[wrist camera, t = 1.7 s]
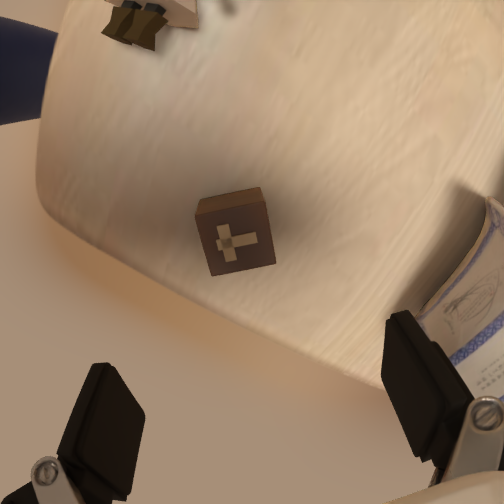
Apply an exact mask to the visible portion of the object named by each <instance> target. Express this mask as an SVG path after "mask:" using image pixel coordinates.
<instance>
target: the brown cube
mask: <svg viewBox="0 0 504 504" xmlns="http://www.w3.org/2000/svg"><path fill="white" fill-rule="evenodd" d="M195 220H196V224H197V227H198V231H199V234H200V238H201V242H202V245H203V249H204V252H205V256H206V259H207V263H208V266H209V269H210V273H211V276H217V275H223V274H228V273H233V272H238V271H243V270H248V269H253V268H258V267H263V266H267V265H272V264H276V257H275V252H274V246H273V241H272V235H271V230H270V225H269V219H268V214H267V209H266V203H265V200H264V197H263V194H262V191H261V189H260V187H258V188H253V189H248V190H243V191H238V192H233V193H229V194H224V195H219V196H215V197H210V198H206V199H201V200H200V201H199V204H198V207H197V210H196V213H195Z"/></svg>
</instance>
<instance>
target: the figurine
mask: <svg viewBox="0 0 504 504" xmlns="http://www.w3.org/2000/svg"><path fill="white" fill-rule="evenodd" d="M105 1H107V2H109V3H111V4H114V5H116V6H118V7H115V6H114V7H113V11H112V16H111V20H110V22H109V24H108V25H107V26H106V27H105V29H104V30H103V31H102V32H101V33H102V34H104V35H106V36H108V37H110V38H112V39H114V40H117V41H119V42H121V43H125V44H129V45H132V43H134V44H136V45H138V46H140V47H143V48H145V49H149V50H153V51H155V34H156V33H157V32H158V31H159V30H160V29H161V28H162V27H163V26H164V25H165V24H167V25H170V26H173V27H191V28H198V17H197V4H196V0H105Z"/></svg>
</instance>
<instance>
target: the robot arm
mask: <svg viewBox="0 0 504 504" xmlns="http://www.w3.org/2000/svg"><path fill="white" fill-rule="evenodd" d="M381 378H382V382H383V384H384V387H385V389H386V391H387V393H388V395H389V397H390V400H391V402H392V405H393V407H394V409H395V411H396V414H397V416H398V418H399V421H400V423H401V425H402V428H403V430H404V432H405V435H406V437H407V440H408V442H409V444H410V447H411V449H412V452H413V454H414V456H415V457H419V456H420V459H421V461H422V463H423V462H426V461H428V460H430V459H432V462H433V464H434V466H435V467H436V469H435V471H434V474H433V476H432V479H431V481H430V484H429V486H428V488H427V489H424V490H421V491H418V492H415V493H413V494H410V495H407V496H404V497H401V498H398V499H395V500H392V501H389V502H386V503H383V504H504V403H503V402H502V401H501V400H500V399H498V398H496V397H493V396H481V397H478V398H476V399H475V398H474V396H473V395H472V393H471V391H470V390H469V388H468V387H467V385H466V384H465V382H464V381H463V379H462V378H461V376H460V374H459V373H458V371H457V370H456V368H455V367H454V365H453V364H452V363H451V361H450V360H449V358H448V357H447V355H446V354H445V352H444V351H443V349H442V348H441V347H440V345H439V344H438V343H437V342H435V341H430V339H429V338H428V337H427V335H426V334H425V332H424V331H423V329H422V328H421V327H420V325H419V324H418V322H417V321H416V320H415V318H414V317H413V315H412V314H411V313H410V312H409V310H404V311H400V312H396V313H393V314H391V316H390V319H387V320H386V327H385V339H384V350H383V359H382V368H381ZM144 423H145V413H144V411H143V409H142V408H141V406H140V405H139V404H138V402H137V401H136V399H135V398H134V396H133V395H132V393H131V392H130V390H129V389H128V387H127V386H126V384H125V382H124V381H123V379H122V378H121V376H120V375H119V373H118V371H117V370H116V368H115V367H114V366H111V364H110V363H107V362H106V363H94V364H92V366H91V368H90V370H89V373H88V375H87V377H86V380H85V382H84V384H83V386H82V389H81V391H80V394H79V396H78V398H77V401H76V403H75V406H74V408H73V411H72V413H71V416H70V418H69V421H68V423H67V426H66V429H65V431H64V434H63V436H62V439H61V442H60V445H59V447H58V450H57V454H58V458H57V459H56V458H55V457H51V456H46V457H43V458H41V459H40V460H38V461H37V462H36V463H35V464H34V466H33V468H32V470H31V482H29V483H27V484H26V485H24V486H22V487H21V488H19V489H17V490H16V491H14V492H13V493H11V494H9V495H8V496H6V497H5V498H4V499H3V501H2V502H1V504H112V500H118V501H126V500H127V495H129V494H130V493H131V489H132V484H133V478H134V473H135V468H136V462H137V457H138V452H139V447H140V442H141V437H142V432H143V428H144Z"/></svg>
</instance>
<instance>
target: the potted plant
mask: <svg viewBox="0 0 504 504" xmlns="http://www.w3.org/2000/svg"><path fill="white" fill-rule="evenodd" d="M485 206H486V217H485V222H484V225H483V228H482V231H481V234H480V235H479V237H478V239H477V241H476V242H475V244H474V245H473V247H472V248H471V249H470V251H469V252H468V253H467V255H466V256H465V258H464V259H463V260H462V262H461V263H460V264H459V265H458V267H457V268H456V270H455V271H454V272H453V274H452V275H451V276H450V277H449V278H448V280H447V281H446V282H445V283H444V284H443V285H442V287H441V288H440V289H439V290H438V291H437V292H436V293H435V295H434V296H433V297H432V298H431V299H430V300H429V301H428V302H427V303H426V304H425V305H424V306H423V307H422V309H421V310H420V311H419V313H418V314H417V315H416V317H415V320H416V321H417V322H418V324H419V325H420V327H421V328H422V329H423V331H424V332H425V334H426V335H427V337H428V338H429V339H430V341H435V342H437V343H438V344H439V345H440V347H441V348H442V349H443V351H444V352H445V354H446V355H447V357H448V358H449V360H450V361H451V363H452V364H453V365H454V367H455V368H456V370H457V371H458V373H459V374H460V376H461V378H462V379H463V381H464V382H465V384H466V385H467V387H468V388H469V390H470V391H471V393H472V395H473V396H474V398H475V399H476V398H478V397H481V396H493V397H496V398H498V399H500V400H501V401H502V402H503V403H504V207H503V206H502V205H501V204H500V203H499V202H498V201H496V200H495V199H494V198H493V197H487V198H486V200H485Z"/></svg>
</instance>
